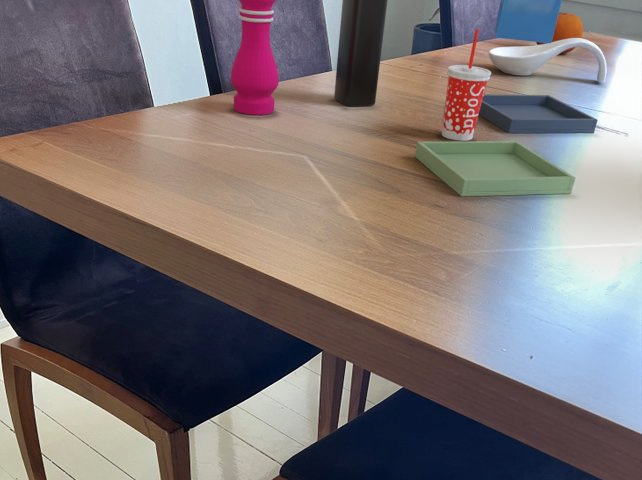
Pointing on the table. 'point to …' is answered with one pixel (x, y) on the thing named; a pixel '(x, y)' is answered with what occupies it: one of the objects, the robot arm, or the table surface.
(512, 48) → the white ladle
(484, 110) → the slate tray
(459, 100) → the beverage cup
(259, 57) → the pepper mill
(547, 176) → the sage tray
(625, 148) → the table surface
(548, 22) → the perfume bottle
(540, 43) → the fruit
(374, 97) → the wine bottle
